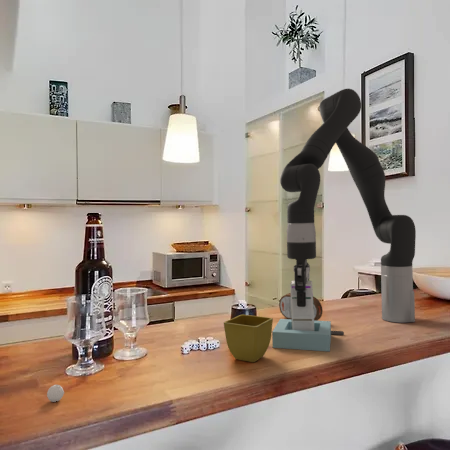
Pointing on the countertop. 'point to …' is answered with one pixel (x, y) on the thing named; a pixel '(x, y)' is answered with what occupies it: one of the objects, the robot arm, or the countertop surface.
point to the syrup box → (302, 309)
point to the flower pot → (248, 336)
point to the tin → (286, 307)
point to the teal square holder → (302, 336)
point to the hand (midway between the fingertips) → (302, 303)
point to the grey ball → (55, 393)
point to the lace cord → (337, 332)
